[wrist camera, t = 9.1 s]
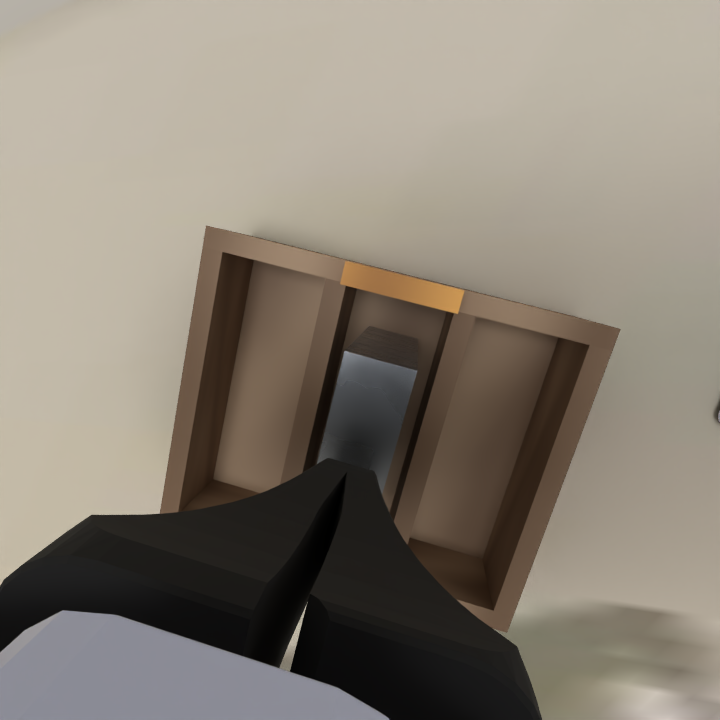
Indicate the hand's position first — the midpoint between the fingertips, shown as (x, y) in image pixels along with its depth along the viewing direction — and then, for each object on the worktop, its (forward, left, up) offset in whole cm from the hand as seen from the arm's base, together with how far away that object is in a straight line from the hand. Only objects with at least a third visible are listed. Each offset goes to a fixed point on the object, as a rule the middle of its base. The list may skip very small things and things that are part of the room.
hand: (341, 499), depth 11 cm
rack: (0, 0, -8) cm, 8 cm away
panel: (0, 0, -7) cm, 7 cm away
